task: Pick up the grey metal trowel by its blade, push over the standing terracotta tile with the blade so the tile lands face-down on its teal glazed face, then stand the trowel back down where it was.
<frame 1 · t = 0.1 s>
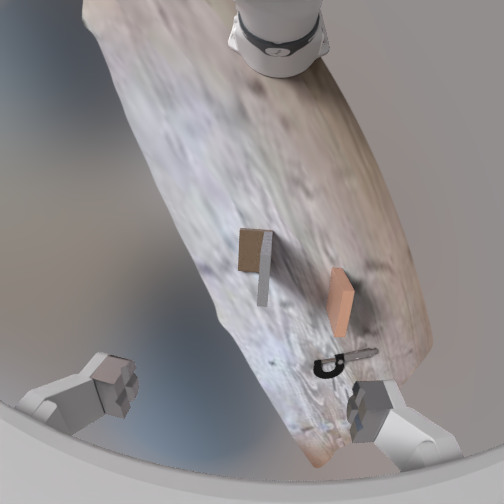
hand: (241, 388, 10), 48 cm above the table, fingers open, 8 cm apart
trowel: (267, 250, 58), on the table
tile: (333, 288, 60), on the table
micrometer: (344, 362, 66), on the table
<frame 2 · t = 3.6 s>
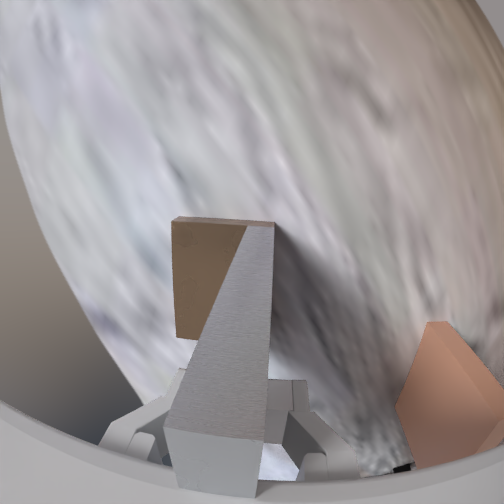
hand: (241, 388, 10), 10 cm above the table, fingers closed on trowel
trowel: (258, 282, 20), on the table, touching gripper
tile: (420, 368, 21), on the table
micrometer: (406, 471, 27), on the table
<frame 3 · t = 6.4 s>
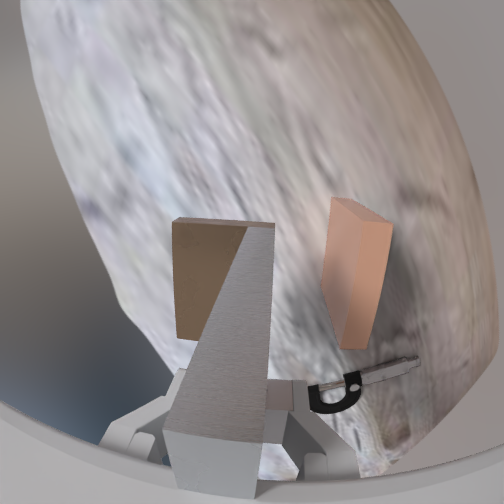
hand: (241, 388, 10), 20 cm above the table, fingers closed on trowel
trowel: (258, 283, 20), point 10 cm above the table, touching gripper
tile: (336, 243, 29), on the table
micrometer: (361, 385, 35), on the table
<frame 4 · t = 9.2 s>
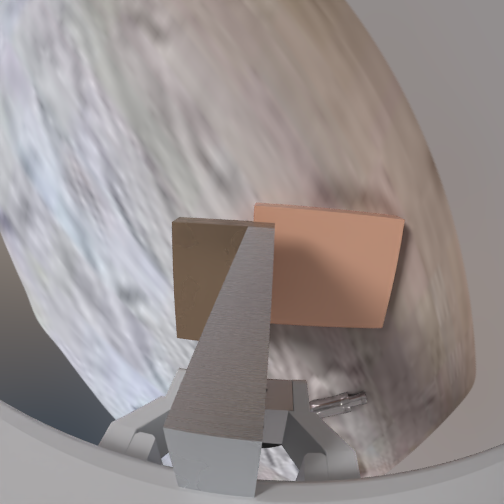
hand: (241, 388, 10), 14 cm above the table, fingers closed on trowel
trowel: (258, 282, 20), point 4 cm above the table, touching gripper
tile: (252, 263, 23), point 1 cm above the table, tilted 90°
micrometer: (297, 420, 29), on the table
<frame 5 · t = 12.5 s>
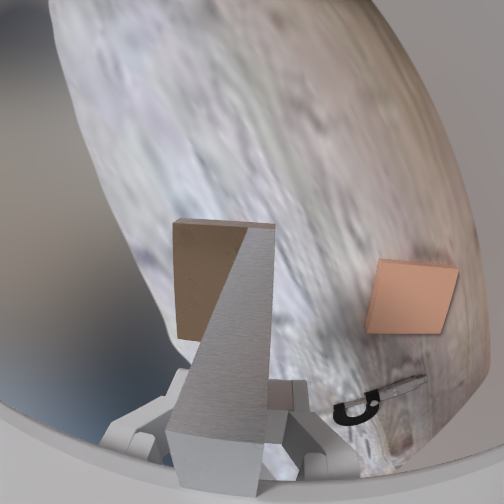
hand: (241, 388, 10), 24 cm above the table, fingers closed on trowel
trowel: (259, 283, 20), point 14 cm above the table, touching gripper
tile: (373, 296, 34), point 1 cm above the table, tilted 90°
micrometer: (379, 400, 39), on the table
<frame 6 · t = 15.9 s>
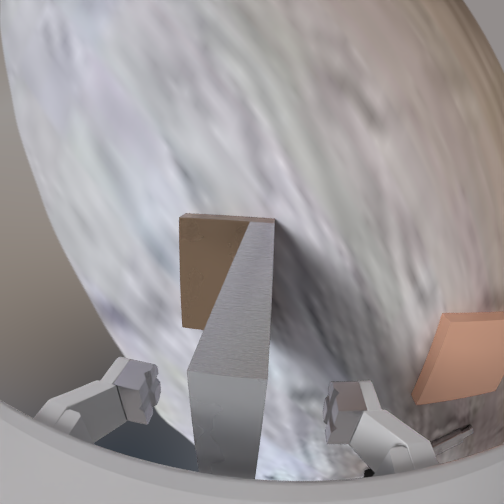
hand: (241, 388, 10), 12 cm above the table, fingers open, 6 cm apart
trowel: (259, 274, 21), on the table
tile: (429, 361, 22), point 1 cm above the table, tilted 90°
micrometer: (416, 456, 28), on the table
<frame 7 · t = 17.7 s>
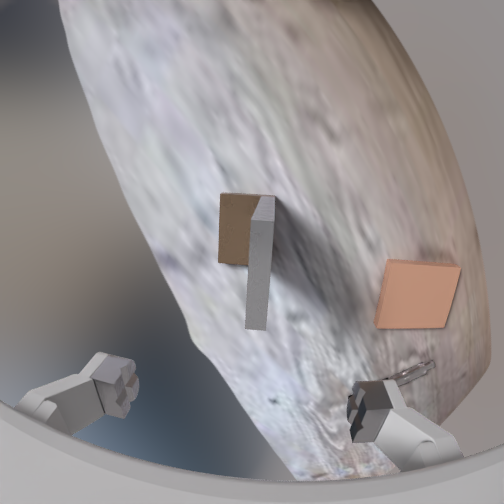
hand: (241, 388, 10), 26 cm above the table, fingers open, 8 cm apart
trowel: (266, 229, 35), on the table
tile: (381, 293, 36), point 1 cm above the table, tilted 90°
micrometer: (391, 387, 42), on the table
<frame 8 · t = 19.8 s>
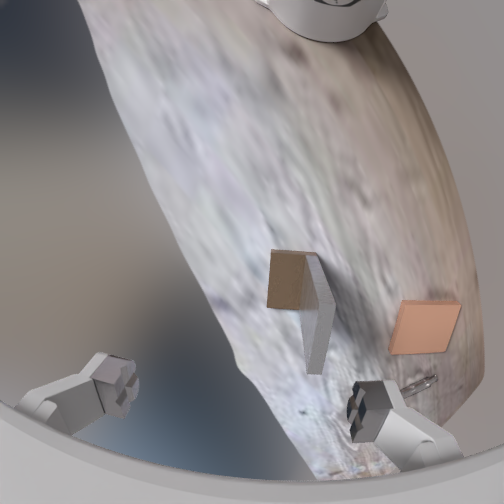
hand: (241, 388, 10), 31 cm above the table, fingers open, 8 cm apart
trowel: (306, 279, 42), on the table
tile: (396, 327, 42), point 1 cm above the table, tilted 90°
micrometer: (401, 398, 48), on the table
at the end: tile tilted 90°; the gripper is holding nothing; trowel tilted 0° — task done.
